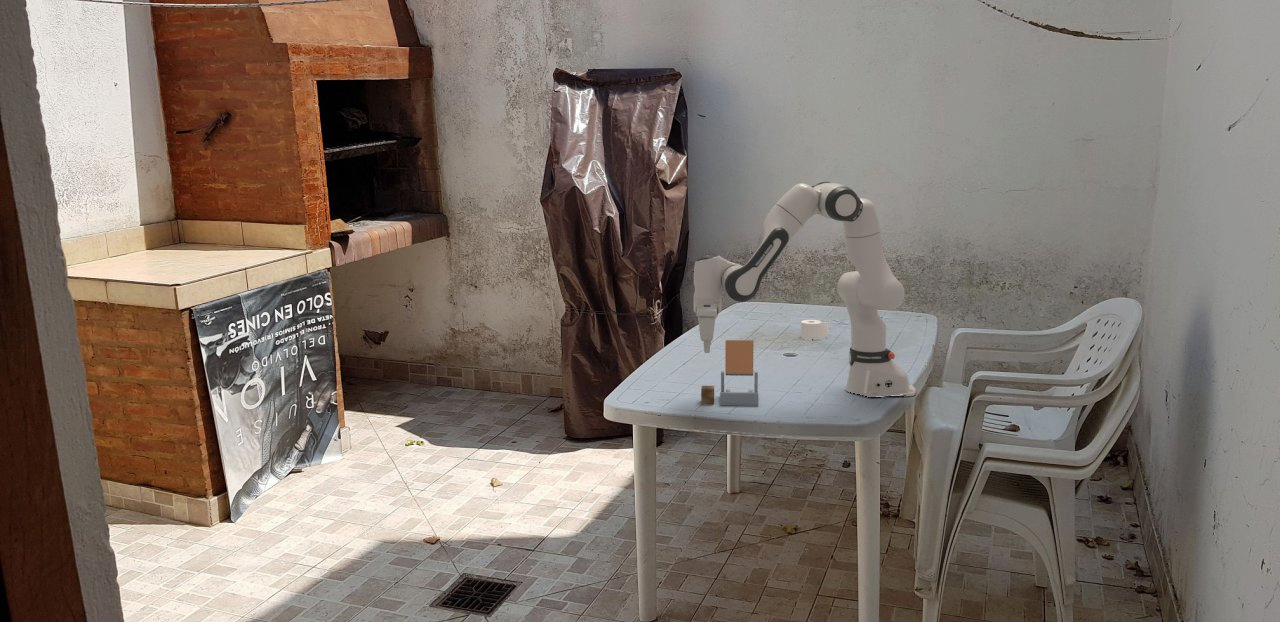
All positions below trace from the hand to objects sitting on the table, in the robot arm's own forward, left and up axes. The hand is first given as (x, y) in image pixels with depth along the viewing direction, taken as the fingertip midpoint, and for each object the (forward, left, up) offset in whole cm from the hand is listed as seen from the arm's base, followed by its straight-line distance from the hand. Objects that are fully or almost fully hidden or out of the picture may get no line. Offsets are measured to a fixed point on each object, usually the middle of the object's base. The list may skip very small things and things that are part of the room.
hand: (707, 349), depth 310 cm
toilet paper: (-41, -93, -18) cm, 103 cm away
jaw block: (0, 0, -18) cm, 18 cm away
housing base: (-10, -2, -18) cm, 20 cm away
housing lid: (-10, -7, -5) cm, 13 cm away
